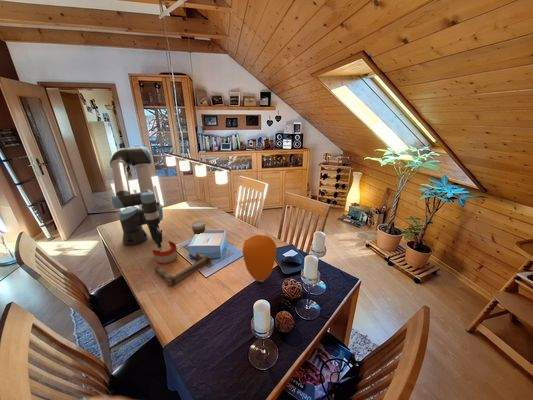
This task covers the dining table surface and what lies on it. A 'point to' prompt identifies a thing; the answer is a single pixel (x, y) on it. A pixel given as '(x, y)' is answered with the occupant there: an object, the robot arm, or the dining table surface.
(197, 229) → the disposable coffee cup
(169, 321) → the dining table surface
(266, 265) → the orange egg-shaped ornament
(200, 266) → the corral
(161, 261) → the toy
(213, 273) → the dining table surface
